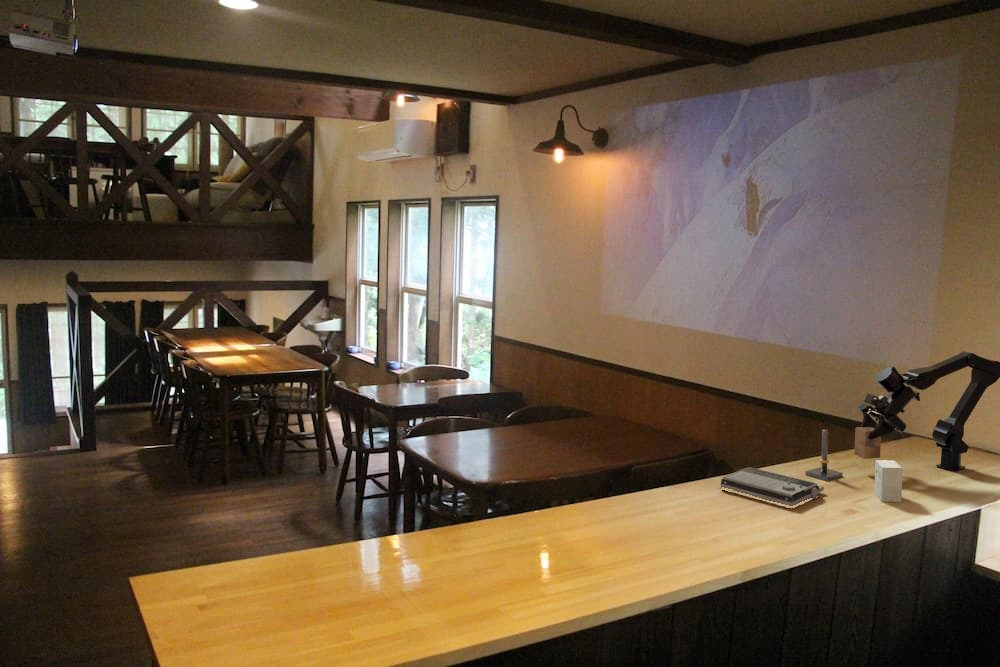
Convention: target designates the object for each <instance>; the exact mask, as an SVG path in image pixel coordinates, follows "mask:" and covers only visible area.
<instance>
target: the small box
mask: <svg viewBox="0 0 1000 667" xmlns="http://www.w3.org/2000/svg"><path fill="white" fill-rule="evenodd" d="M902 492H903V467H902V466H901V465H900V464H899V463H898V462H897V461H896V460H890V459H889V460H884V459H883V460H882V459H877V460H875V464H874V494H875V496H876V497H877V496H878V497H877V498H878V499H879V500H880V501H881V502H883V503H902V495H903V494H902Z"/></svg>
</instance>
